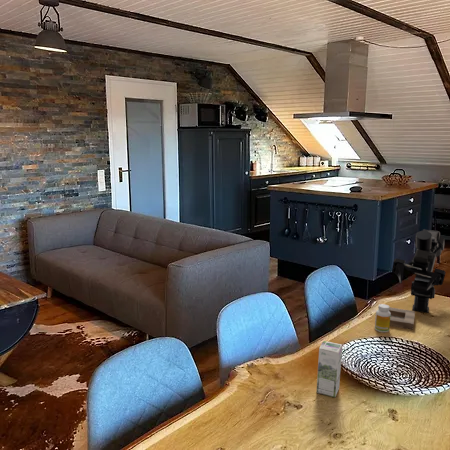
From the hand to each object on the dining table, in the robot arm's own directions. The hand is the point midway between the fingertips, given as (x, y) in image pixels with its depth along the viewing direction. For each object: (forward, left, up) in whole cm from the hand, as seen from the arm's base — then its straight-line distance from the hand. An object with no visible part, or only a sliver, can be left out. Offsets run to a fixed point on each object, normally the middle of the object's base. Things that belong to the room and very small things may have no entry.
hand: (413, 286), depth 176 cm
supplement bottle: (+3, -10, -18) cm, 21 cm away
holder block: (-9, -6, -18) cm, 21 cm away
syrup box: (+55, -20, -18) cm, 61 cm away
